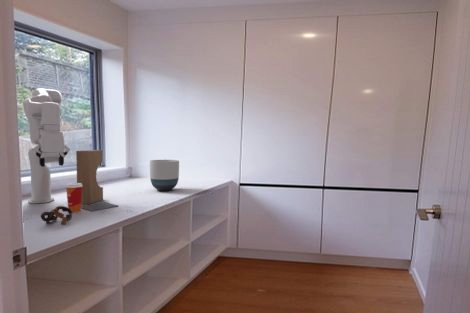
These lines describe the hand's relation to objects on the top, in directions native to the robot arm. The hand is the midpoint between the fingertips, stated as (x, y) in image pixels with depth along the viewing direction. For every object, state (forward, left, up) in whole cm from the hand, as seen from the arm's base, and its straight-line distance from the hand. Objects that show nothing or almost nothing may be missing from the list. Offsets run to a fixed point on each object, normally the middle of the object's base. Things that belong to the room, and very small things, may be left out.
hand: (52, 165), depth 143 cm
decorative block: (-16, +26, -24) cm, 39 cm away
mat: (0, +23, -24) cm, 33 cm away
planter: (-15, +79, -24) cm, 84 cm away
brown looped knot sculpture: (+16, -5, -24) cm, 30 cm away
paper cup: (0, +10, -24) cm, 26 cm away
